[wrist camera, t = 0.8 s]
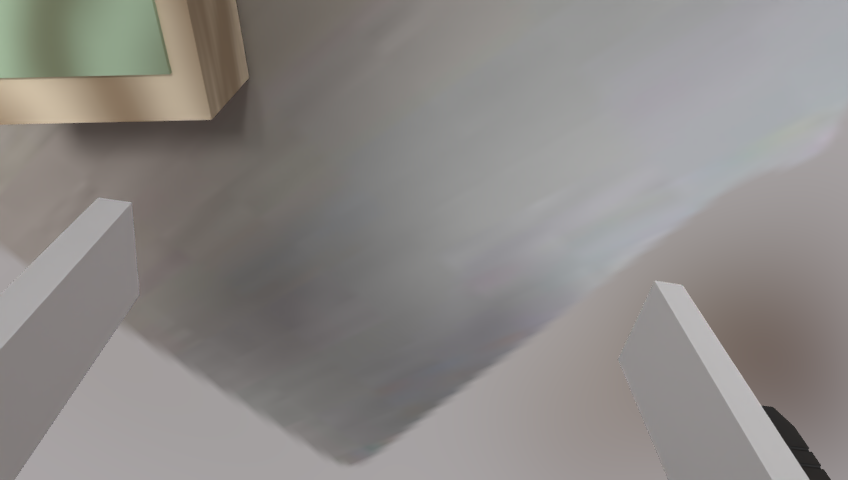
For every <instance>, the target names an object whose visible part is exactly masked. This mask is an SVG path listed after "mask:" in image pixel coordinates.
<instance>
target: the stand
mask: <svg viewBox="0 0 848 480" xmlns="http://www.w3.org/2000/svg"><path fill="white" fill-rule="evenodd" d="M248 79H249V73H248V68H247V62H246V56H245V50H244V44H243V38H242V33H241V27H240V21H239V15H238V9H237V4H236V0H0V125H3V124H48V123H93V122H138V121H183V120H212V119H213V118H214V117H215V116H216V115H217V113H218V112H219V111H220V110H221V109H222V108H223V107H224V106H225V104H226V103H227V102H228V101H229V100H230V99H231V98H232V97H233V95H234V94H235V93H236V92H237V91H238V90H239V89H240V88H241V86H242V85H243V84H244V83H245V82H246V81H247V80H248Z"/></svg>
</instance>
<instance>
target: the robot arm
mask: <svg viewBox="0 0 848 480" xmlns="http://www.w3.org/2000/svg"><path fill="white" fill-rule="evenodd" d="M139 295H140V292H139V281H138V269H137V257H136V246H135V234H134V222H133V210H132V202H126V201H119V200H112V199H105V198H99V197H98V198H97V199H96V200H95V201H94V202H93V203H92V204H91V205H90V206H89V207H88V208H87V209H86V210H85V211H84V212H83V213H82V214H81V215H80V216H79V217H78V218H77V219H76V220H75V221H74V222H73V223H72V224H71V225H70V226H69V227H68V228H67V229H66V230H65V231H64V232H63V233H62V234H61V235H60V236H59V237H58V238H57V239H56V240H55V241H54V242H53V243H52V244H51V245H50V246H49V247H48V248H47V249H45V250H44V251H43V252H42V253H41V254H40V255H39V256H38V257H37V258H36V259H35V260H34V261H33V262H32V263H31V264H30V265H29V266H28V267H27V268H26V269H25V270H24V271H23V272H22V273H21V274H20V275H19V276H18V277H17V278H16V279H15V280H14V281H13V282H12V283H11V284H10V285H9V286H8V287H7V288H6V289H5V290H4V291H3V292H2V293H1V294H0V480H15V478H16V477H17V475H18V474H19V472H20V471H21V469H22V468H23V467H24V465H25V464H26V462H27V461H28V459H29V458H30V456H31V455H32V453H33V452H34V450H35V449H36V447H37V446H38V444H39V443H40V441H41V440H42V438H43V437H44V435H45V434H46V433H47V431H48V429H49V428H50V427H51V425H52V424H53V422H54V421H55V419H56V418H57V416H58V415H59V413H60V412H61V410H62V409H63V407H64V406H65V404H66V403H67V401H68V400H69V398H70V397H71V396H72V394H73V393H74V391H75V390H76V388H77V387H78V385H79V384H80V382H81V381H82V379H83V378H84V376H85V375H86V373H87V372H88V370H89V369H90V367H91V366H92V364H93V363H94V361H95V360H96V358H97V357H98V356H99V354H100V353H101V351H102V350H103V348H104V347H105V345H106V344H107V342H108V341H109V339H110V338H111V336H112V335H113V333H114V332H115V330H116V329H117V328H118V326H119V325H120V323H121V322H122V320H123V319H124V317H125V316H126V314H127V313H128V311H129V310H130V308H131V307H132V305H133V304H134V302H135V301H136V299H137V298H138V296H139ZM618 361H619V363H620V366H621V368H622V370H623V373H624V375H625V378H626V380H627V382H628V385H629V387H630V389H631V392H632V394H633V397H634V399H635V402H636V404H637V406H638V409H639V411H640V414H641V416H642V418H643V421H644V423H645V426H646V428H647V430H648V433H649V435H650V437H651V440H652V442H653V445H654V447H655V450H656V452H657V454H658V457H659V459H660V462H661V464H662V467H663V469H664V471H665V473H666V476H667V479H668V480H831V479H830V478H829V477H828V475H827V473H826V472H825V471H824V470H823V469H821V468H820V466H821V465H820V464H819V462H818V460H817V459H816V458H815V456H814V455H813V453H812V452H809V450H808V449H809V447H808V446H807V445H806V443H805V441H804V440H803V439H802V437H801V436H800V435H799V433H798V431H797V430H796V428H795V427H794V426H793V425H792V424H791V423H790V422H789V421H788V420H786V419H785V418H784V417H783V416H782V415H781V414H780V413H779V412H778V411H777V410H776V409H774V408H773V407H767V406H761V405H760V403H759V402H758V400H757V399H756V397H755V395H754V394H753V392H752V391H751V389H750V388H749V386H748V385H747V383H746V382H745V380H744V379H743V377H742V376H741V374H740V373H739V371H738V369H737V368H736V366H735V365H734V363H733V362H732V360H731V359H730V357H729V356H728V354H727V352H726V351H725V349H724V348H723V346H722V345H721V343H720V342H719V340H718V339H717V337H716V336H715V334H714V333H713V331H712V329H711V328H710V326H709V325H708V323H707V322H706V320H705V319H704V317H703V316H702V314H701V313H700V311H699V310H698V308H697V307H696V305H695V303H694V302H693V300H692V299H691V297H690V296H689V294H688V293H687V291H686V290H685V288H684V287H683V285H680V284H674V283H667V282H660V281H654V283H653V285H652V287H651V290H650V292H649V294H648V296H647V298H646V300H645V302H644V304H643V306H642V309H641V311H640V313H639V315H638V317H637V319H636V321H635V324H634V326H633V328H632V330H631V332H630V334H629V337H628V339H627V341H626V343H625V345H624V347H623V349H622V352H621V354H620V356H619V358H618Z"/></svg>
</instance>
